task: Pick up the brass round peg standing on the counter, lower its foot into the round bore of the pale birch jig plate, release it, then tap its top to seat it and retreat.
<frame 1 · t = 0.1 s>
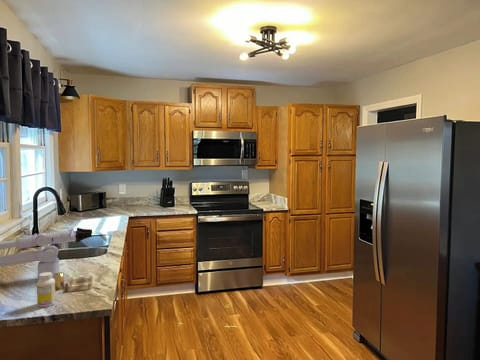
hand: (91, 232, 183), 22 cm above the worktop, tool horizontal, fingers open, 7 cm apart
brass round peg: (59, 288, 164), on the worktop
supplement bottle: (46, 304, 147), on the worktop
jig: (80, 286, 168), on the worktop
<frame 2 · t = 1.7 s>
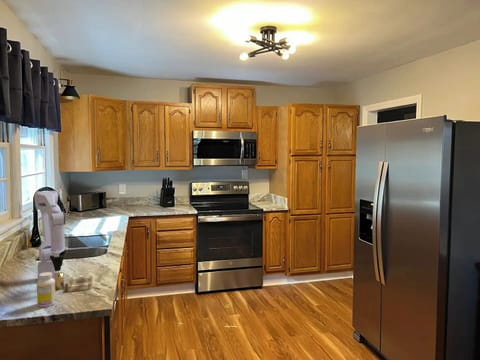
hand: (58, 268, 164), 10 cm above the worktop, tool pointing down, fingers open, 7 cm apart
nothing on the worktop moved.
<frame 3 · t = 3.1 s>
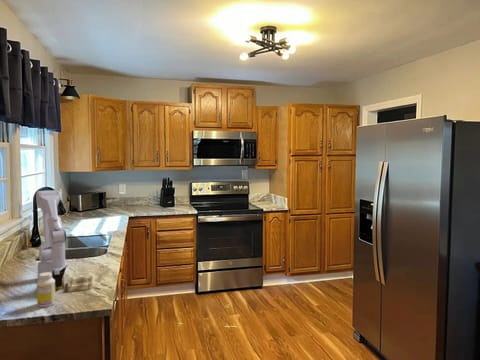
hand: (59, 285, 164), 2 cm above the worktop, tool pointing down, fingers closed on brass round peg, 4 cm apart
brass round peg: (59, 288, 164), on the worktop, touching gripper
everything else where it was.
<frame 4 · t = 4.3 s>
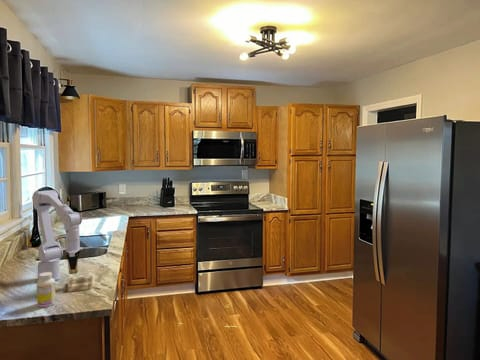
hand: (73, 268, 166), 9 cm above the worktop, tool pointing down, fingers closed on brass round peg, 4 cm apart
brass round peg: (73, 272, 166), point 7 cm above the worktop, touching gripper
everything else where it was.
when the fingers open (3 cm above the worktop, at t = 5.8 s): brass round peg stays where it is, resting in jig.
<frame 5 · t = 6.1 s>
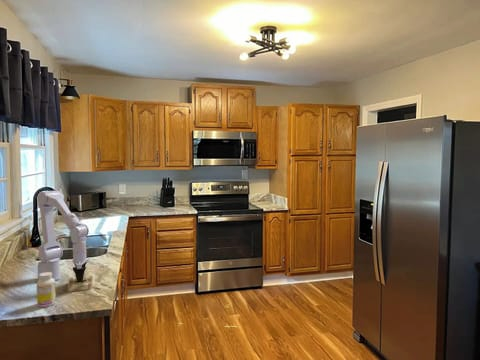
hand: (80, 279, 167), 3 cm above the worktop, tool pointing down, fingers open, 6 cm apart
brass round peg: (80, 286, 168), resting in jig
everything else where it was.
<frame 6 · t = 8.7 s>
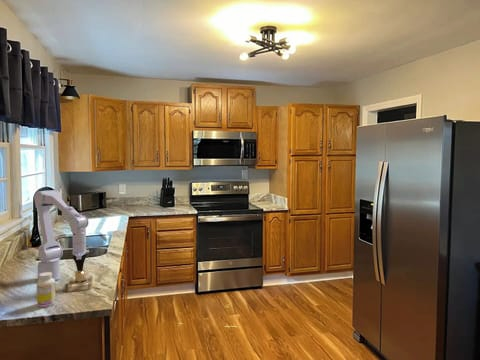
hand: (80, 270, 167), 7 cm above the worktop, tool pointing down, fingers closed
nothing on the worktop moved.
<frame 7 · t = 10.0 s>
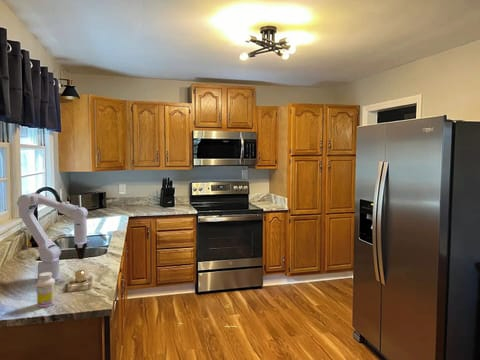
hand: (81, 258, 178), 10 cm above the worktop, tool pointing down, fingers closed
nothing on the worktop moved.
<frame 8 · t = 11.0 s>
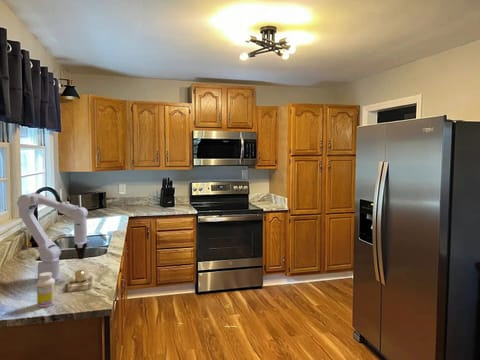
hand: (81, 258, 178), 10 cm above the worktop, tool pointing down, fingers closed
nothing on the worktop moved.
at the end: brass round peg 0.2 cm off-centre on the jig, point 0.0 cm above the jig's base; brass round peg tilted 0°; the gripper is holding nothing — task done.
